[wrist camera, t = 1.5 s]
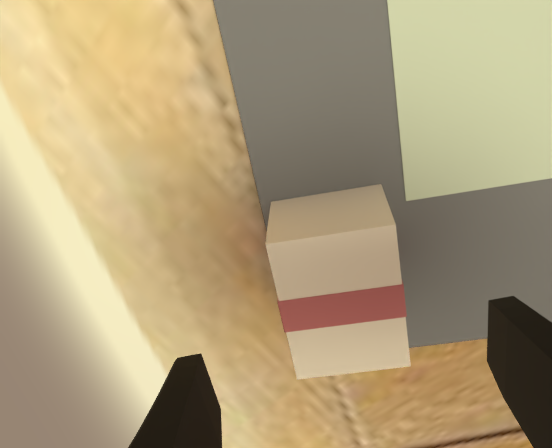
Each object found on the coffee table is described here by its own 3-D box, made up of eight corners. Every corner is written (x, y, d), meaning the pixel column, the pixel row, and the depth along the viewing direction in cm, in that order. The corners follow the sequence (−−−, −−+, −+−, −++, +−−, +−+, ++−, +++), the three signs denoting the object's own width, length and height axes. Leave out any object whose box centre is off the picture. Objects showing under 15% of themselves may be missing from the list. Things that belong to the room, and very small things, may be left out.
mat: (608, 318, 26) (613, 324, 26) (296, 356, 28) (296, 362, 28) (660, -158, 17) (669, -161, 17) (203, -52, 19) (200, -52, 19)
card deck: (396, 310, 26) (411, 366, 22) (297, 323, 27) (296, 380, 23) (382, 183, 23) (397, 224, 19) (270, 201, 23) (264, 245, 20)
